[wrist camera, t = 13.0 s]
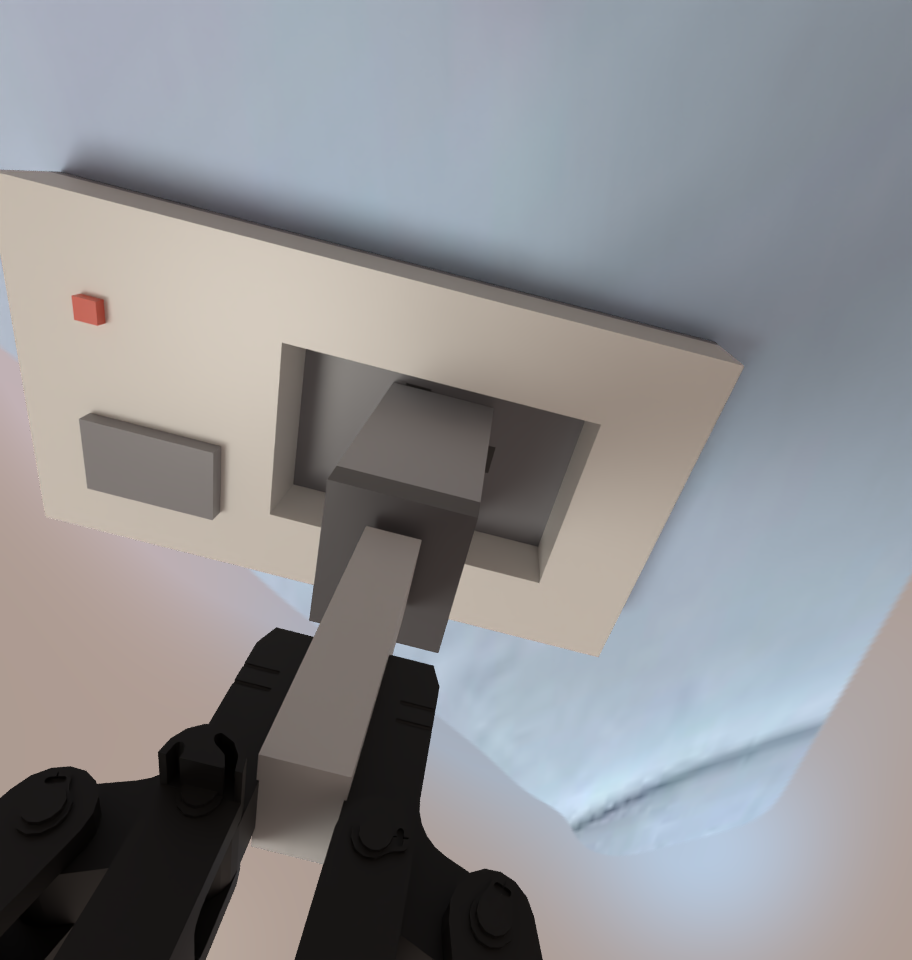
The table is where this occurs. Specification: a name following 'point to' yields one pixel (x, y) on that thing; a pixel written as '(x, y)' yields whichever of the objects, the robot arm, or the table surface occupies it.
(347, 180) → the table surface
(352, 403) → the socket plate
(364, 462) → the plug
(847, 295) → the table surface
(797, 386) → the table surface
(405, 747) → the robot arm
